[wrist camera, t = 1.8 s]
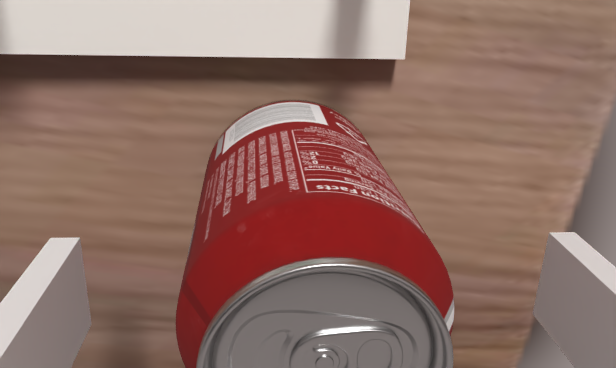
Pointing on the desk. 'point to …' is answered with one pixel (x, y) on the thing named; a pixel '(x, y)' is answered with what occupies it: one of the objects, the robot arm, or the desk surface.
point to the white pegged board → (206, 28)
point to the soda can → (308, 254)
